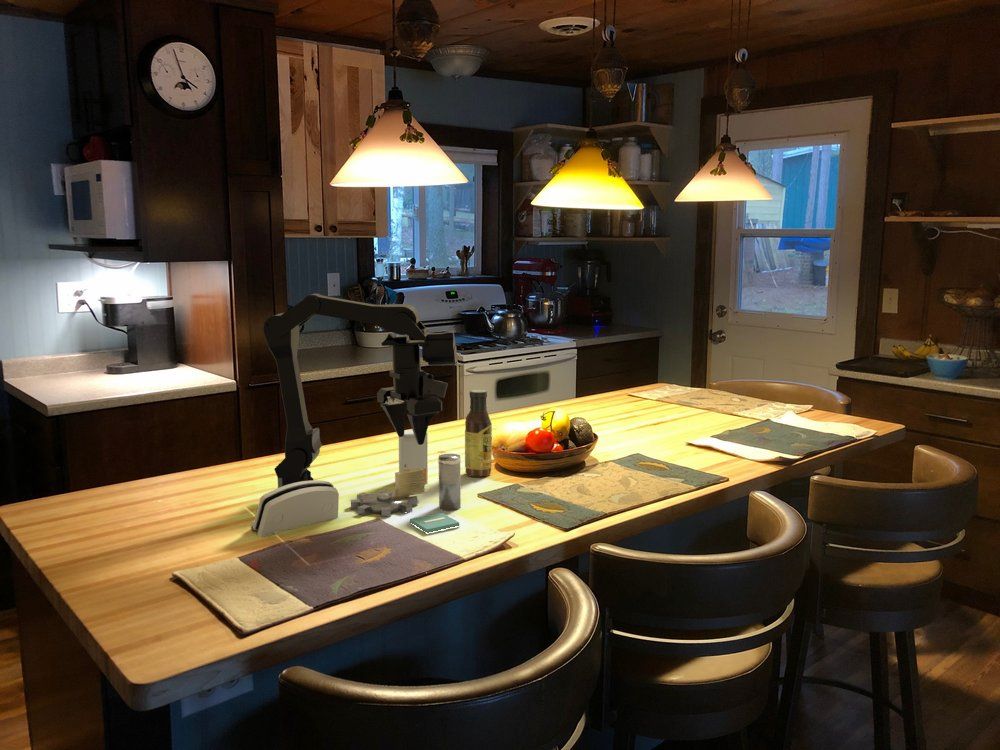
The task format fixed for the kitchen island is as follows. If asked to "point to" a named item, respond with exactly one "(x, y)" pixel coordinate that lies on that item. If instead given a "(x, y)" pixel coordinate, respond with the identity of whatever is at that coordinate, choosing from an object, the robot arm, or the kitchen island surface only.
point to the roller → (449, 482)
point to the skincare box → (413, 454)
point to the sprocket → (393, 495)
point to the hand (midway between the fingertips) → (410, 440)
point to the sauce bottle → (478, 436)
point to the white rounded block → (295, 506)
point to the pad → (434, 522)
